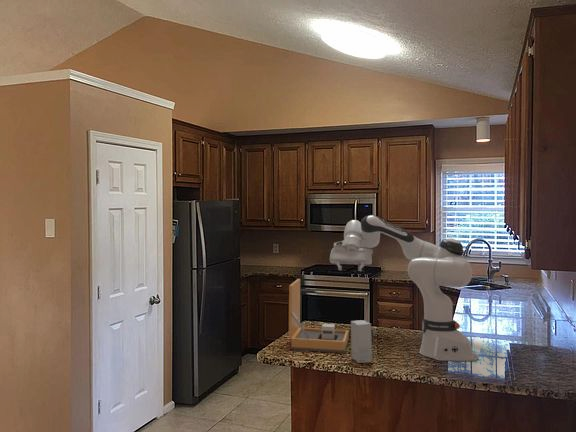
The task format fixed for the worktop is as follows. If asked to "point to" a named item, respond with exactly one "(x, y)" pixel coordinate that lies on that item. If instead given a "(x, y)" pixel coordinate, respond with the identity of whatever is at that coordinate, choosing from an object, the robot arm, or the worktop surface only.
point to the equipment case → (310, 329)
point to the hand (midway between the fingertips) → (349, 269)
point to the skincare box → (361, 341)
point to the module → (328, 331)
